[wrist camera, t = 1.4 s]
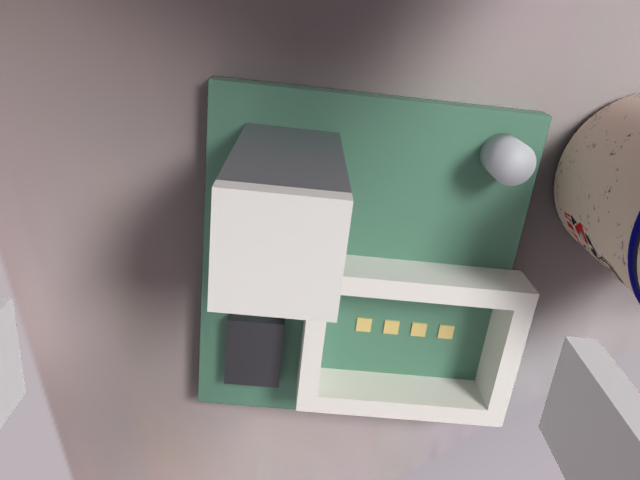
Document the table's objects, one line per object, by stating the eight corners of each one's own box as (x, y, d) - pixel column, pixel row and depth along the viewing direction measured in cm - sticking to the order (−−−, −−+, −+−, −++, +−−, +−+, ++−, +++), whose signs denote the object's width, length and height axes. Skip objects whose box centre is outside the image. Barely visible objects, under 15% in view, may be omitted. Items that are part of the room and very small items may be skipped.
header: (311, 251, 30) (311, 273, 27) (521, 270, 30) (539, 294, 28) (296, 380, 33) (295, 410, 30) (488, 396, 33) (501, 427, 31)
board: (212, 75, 27) (200, 85, 24) (542, 111, 28) (569, 124, 25) (201, 388, 34) (191, 425, 31) (467, 409, 35) (481, 447, 32)
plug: (246, 122, 27) (212, 187, 18) (339, 132, 27) (353, 201, 18) (240, 217, 29) (206, 320, 20) (328, 226, 29) (335, 331, 20)
